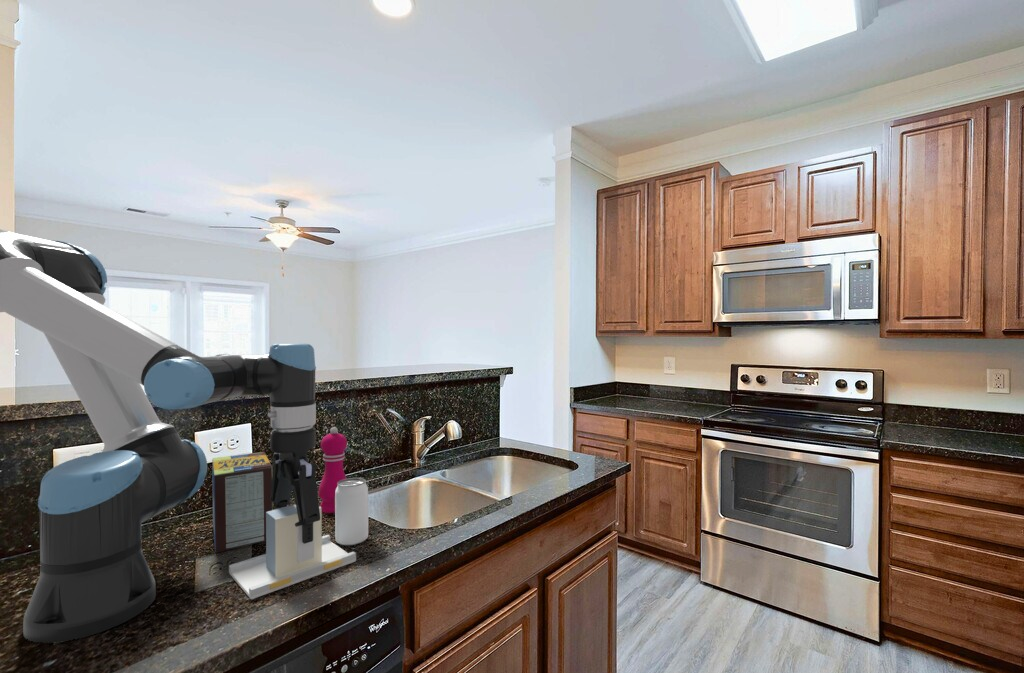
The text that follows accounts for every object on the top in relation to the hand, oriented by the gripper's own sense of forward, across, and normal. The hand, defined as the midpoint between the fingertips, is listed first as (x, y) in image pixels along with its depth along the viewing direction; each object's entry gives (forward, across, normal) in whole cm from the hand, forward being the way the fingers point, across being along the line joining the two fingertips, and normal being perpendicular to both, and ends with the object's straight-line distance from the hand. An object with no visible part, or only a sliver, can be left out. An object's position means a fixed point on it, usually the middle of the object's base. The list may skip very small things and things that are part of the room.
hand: (294, 550), depth 87 cm
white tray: (+3, 0, 0) cm, 3 cm away
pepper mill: (+3, -23, +18) cm, 30 cm away
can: (+3, -4, +13) cm, 14 cm away
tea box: (+3, 0, 0) cm, 3 cm away
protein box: (+3, -24, -2) cm, 24 cm away
